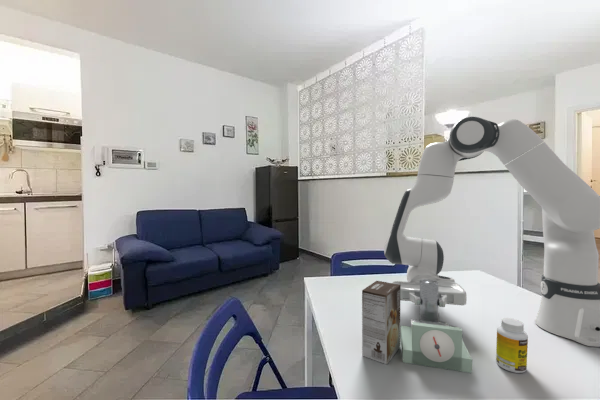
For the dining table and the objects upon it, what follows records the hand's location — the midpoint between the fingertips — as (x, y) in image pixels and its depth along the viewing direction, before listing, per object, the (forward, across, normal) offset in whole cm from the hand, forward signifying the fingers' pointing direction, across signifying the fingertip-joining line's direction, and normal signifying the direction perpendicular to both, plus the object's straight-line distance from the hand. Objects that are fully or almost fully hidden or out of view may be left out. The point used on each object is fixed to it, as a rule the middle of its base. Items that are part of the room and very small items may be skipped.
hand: (429, 303), depth 78 cm
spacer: (-1, 0, +7) cm, 7 cm away
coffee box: (+12, -12, +9) cm, 19 cm away
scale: (+8, -1, +9) cm, 12 cm away
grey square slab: (+7, -1, +6) cm, 9 cm away
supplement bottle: (+10, +15, +9) cm, 20 cm away
